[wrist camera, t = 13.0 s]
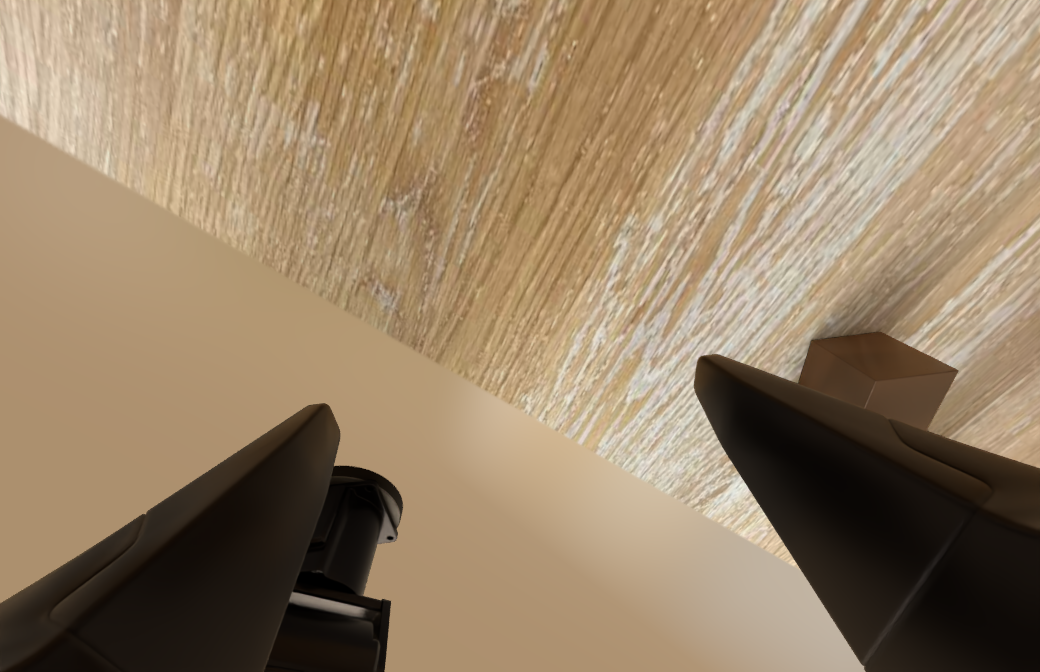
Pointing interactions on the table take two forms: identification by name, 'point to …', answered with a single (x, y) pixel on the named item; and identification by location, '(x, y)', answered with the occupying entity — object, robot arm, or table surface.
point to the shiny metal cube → (879, 376)
